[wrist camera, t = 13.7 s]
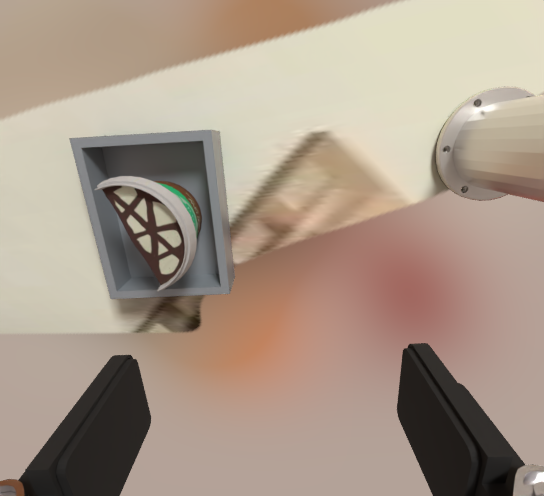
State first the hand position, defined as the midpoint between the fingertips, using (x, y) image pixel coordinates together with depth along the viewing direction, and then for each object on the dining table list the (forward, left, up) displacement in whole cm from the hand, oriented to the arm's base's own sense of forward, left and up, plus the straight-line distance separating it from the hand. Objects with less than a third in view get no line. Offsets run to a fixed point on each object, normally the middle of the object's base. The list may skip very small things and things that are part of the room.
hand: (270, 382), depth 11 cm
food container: (+11, -1, -30) cm, 32 cm away
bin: (+14, 0, -30) cm, 33 cm away
